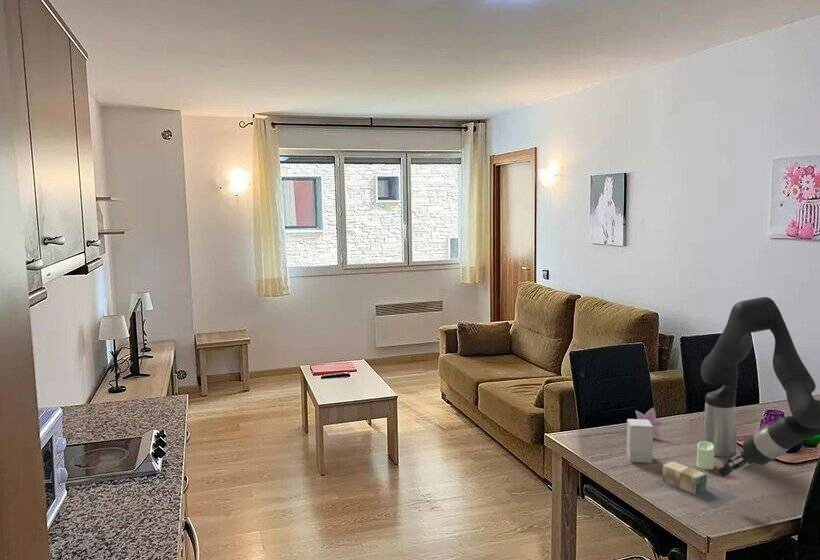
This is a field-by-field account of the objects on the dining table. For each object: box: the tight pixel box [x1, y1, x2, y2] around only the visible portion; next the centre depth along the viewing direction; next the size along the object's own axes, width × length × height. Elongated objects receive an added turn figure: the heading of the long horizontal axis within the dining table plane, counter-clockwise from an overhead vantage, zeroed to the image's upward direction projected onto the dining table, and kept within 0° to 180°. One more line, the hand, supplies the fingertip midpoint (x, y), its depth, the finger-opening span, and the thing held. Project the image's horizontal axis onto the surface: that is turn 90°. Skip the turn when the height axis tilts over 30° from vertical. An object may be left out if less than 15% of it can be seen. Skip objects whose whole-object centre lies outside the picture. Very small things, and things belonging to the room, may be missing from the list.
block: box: [661, 461, 708, 494], centre depth 183 cm, size 5×5×11 cm
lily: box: [635, 407, 665, 441], centre depth 225 cm, size 12×12×10 cm
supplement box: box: [626, 418, 654, 464], centre depth 205 cm, size 7×7×13 cm
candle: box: [696, 440, 715, 470], centre depth 196 cm, size 5×5×8 cm
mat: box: [653, 478, 738, 509], centre depth 181 cm, size 20×11×1 cm, turn 32°
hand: (721, 473), depth 172 cm, fingers closed
